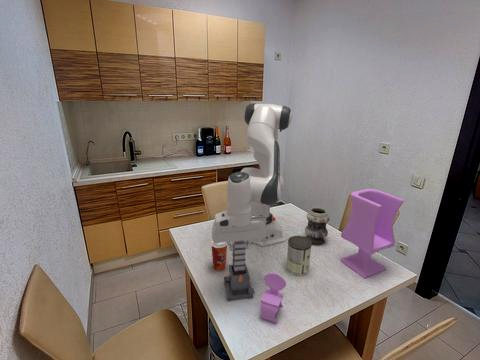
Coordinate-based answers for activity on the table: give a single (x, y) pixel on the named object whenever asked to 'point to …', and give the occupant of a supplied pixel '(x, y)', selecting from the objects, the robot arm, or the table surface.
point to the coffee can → (298, 255)
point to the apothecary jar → (317, 225)
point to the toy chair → (272, 296)
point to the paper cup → (219, 255)
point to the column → (239, 257)
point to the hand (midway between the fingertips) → (238, 249)
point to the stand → (238, 285)
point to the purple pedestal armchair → (370, 229)
